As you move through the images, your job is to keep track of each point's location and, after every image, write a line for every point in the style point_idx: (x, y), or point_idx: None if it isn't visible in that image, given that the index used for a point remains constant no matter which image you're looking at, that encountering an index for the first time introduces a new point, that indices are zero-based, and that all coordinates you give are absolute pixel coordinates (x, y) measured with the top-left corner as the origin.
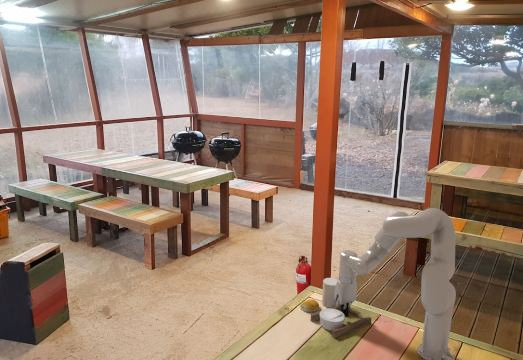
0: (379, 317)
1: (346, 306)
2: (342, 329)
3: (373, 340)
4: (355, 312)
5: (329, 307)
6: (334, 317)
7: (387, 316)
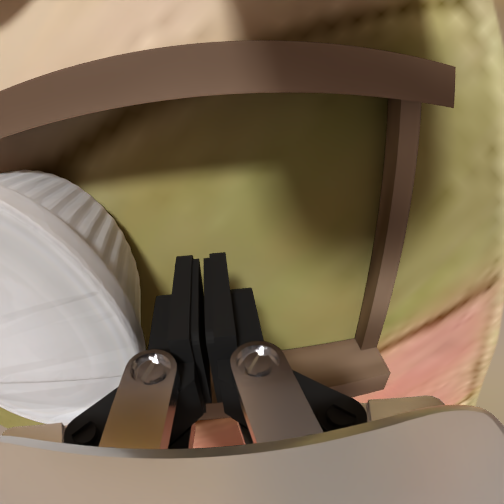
0: (465, 307)
1: (225, 409)
2: None
3: (235, 444)
4: (403, 215)
5: None
6: (15, 380)
7: (493, 310)
